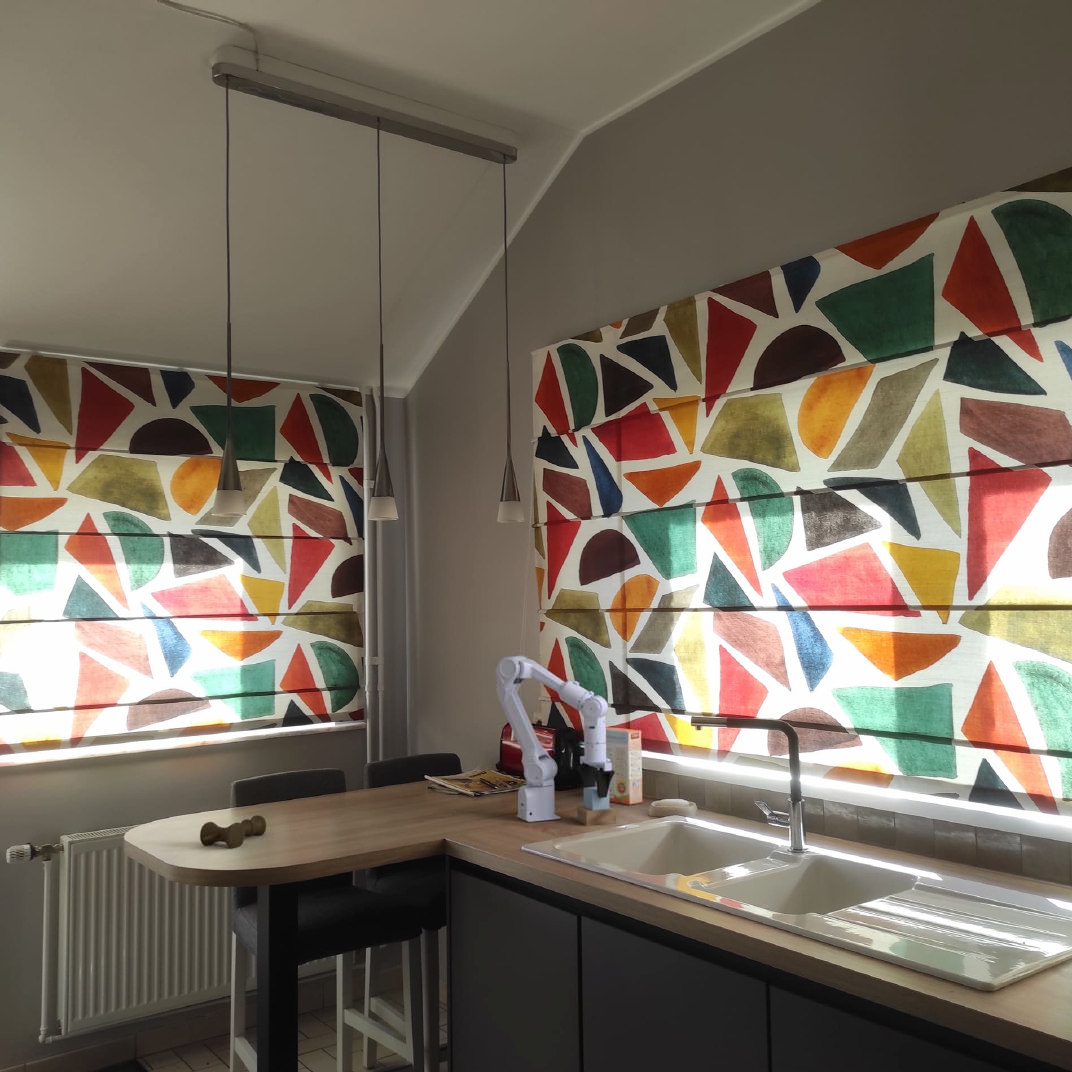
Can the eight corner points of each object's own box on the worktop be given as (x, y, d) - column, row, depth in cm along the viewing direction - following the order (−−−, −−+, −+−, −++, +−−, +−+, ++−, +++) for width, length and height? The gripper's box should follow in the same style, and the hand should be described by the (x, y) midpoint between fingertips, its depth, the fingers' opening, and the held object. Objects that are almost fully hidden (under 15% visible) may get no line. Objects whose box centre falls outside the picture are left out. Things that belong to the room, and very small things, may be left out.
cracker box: (643, 803, 284) (642, 729, 286) (629, 806, 280) (627, 731, 282) (609, 796, 295) (608, 725, 297) (594, 799, 291) (593, 727, 293)
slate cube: (592, 810, 256) (592, 790, 256) (583, 807, 260) (583, 787, 261) (609, 808, 258) (609, 789, 258) (600, 805, 263) (600, 786, 263)
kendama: (275, 838, 247) (219, 853, 229) (244, 836, 251) (187, 851, 233) (275, 813, 248) (219, 827, 230) (244, 811, 252) (187, 825, 233)
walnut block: (586, 827, 254) (586, 811, 254) (577, 821, 262) (577, 805, 262) (616, 825, 256) (615, 809, 257) (606, 819, 264) (605, 804, 264)
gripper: (621, 744, 256) (622, 798, 255) (596, 738, 269) (597, 789, 268) (597, 746, 253) (598, 800, 252) (573, 740, 266) (573, 791, 265)
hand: (596, 795), depth 260 cm, fingers open, 7 cm apart
